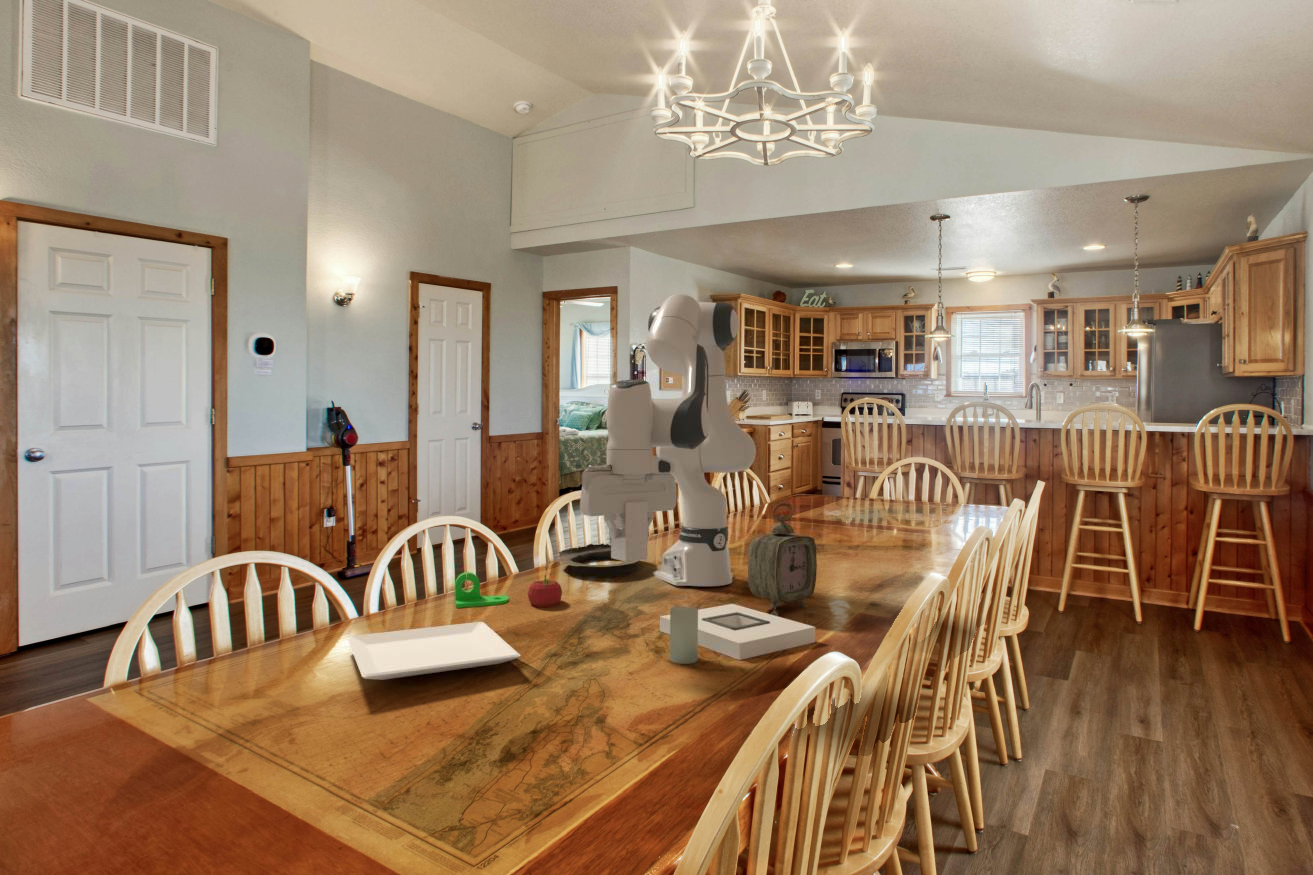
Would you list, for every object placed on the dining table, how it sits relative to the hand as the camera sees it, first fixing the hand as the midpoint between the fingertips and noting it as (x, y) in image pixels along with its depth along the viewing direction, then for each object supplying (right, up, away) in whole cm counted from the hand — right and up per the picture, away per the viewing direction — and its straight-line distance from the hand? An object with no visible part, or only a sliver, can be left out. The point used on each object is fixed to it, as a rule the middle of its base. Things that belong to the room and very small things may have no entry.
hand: (629, 536), depth 144 cm
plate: (-36, -21, -6) cm, 42 cm away
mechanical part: (-35, -21, +31) cm, 51 cm away
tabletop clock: (+33, -21, +27) cm, 48 cm away
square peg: (0, -4, 0) cm, 4 cm away
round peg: (+10, -21, -8) cm, 25 cm away
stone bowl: (-9, -21, +61) cm, 65 cm away
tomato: (-21, -21, +30) cm, 42 cm away
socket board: (+21, -21, +7) cm, 30 cm away
